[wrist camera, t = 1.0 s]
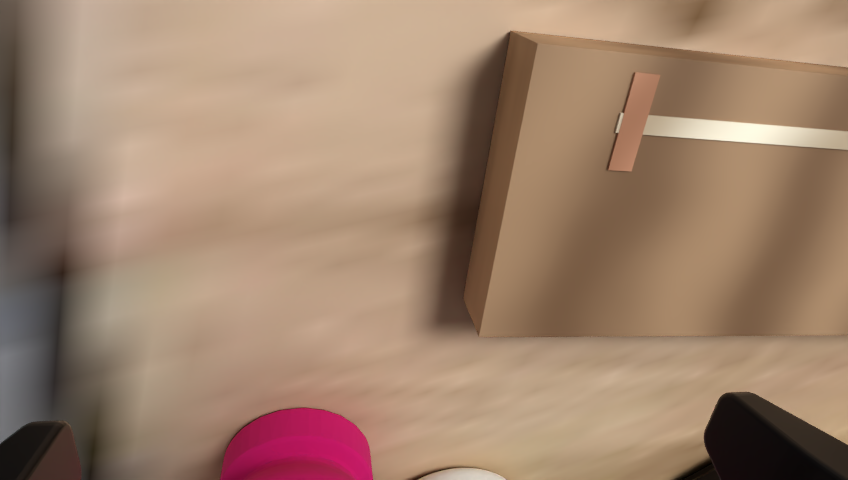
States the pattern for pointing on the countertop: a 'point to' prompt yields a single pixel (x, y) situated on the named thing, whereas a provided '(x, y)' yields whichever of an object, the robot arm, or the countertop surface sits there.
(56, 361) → the countertop surface
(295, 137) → the countertop surface
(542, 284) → the plank
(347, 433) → the pepper mill
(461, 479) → the pill bottle
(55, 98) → the countertop surface
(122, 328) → the countertop surface
